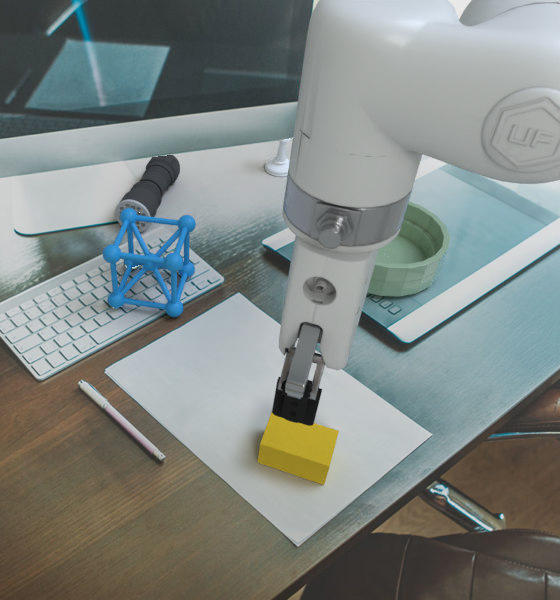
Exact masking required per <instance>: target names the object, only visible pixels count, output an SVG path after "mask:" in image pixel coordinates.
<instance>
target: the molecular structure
mask: <svg viewBox="0 0 560 600" xmlns="http://www.w3.org/2000/svg"><path fill="white" fill-rule="evenodd" d="M120 220H121V222H122V223H123V224H122V226H121V225H120V228H119V230H118V232H117V235H116V237H115V239H114V241H113V243H112V244H111V243H110V244H108V245H106V246H105V247H104V248H103V249H102V253H101V254H102V259H103V260H104V261H105V262H107V263H108V264H109V268H110V277H111V287H112V291H111V292H110V293H109V294H108V296H107V304H108V303H109V304H108V305H109V306H110V305H111V306H112V307H114V308H113V309H120V308H119V307H121V306H122V307H123V306H124V305H125V304H126V305H130V306H131V305H132V306H137V307H138V306H139V307H145V308H151V309H159V310H165V313H166V314H167V315H168V316H169V317H171V318H178V317H181V315H182V314H183V312H184V304H183V302H181V298H182V294H183V291H184V289H185V288H184V287H185V285H186V281H187V279H188V278H187V277H189V278H191V277H193V276H194V274H195V273H196V267H195V265H194V263H193V262H191V261H190V233H192V232H193V231H194V230H195V228H196V227H197V222H196V219H195V218H194V217H193V216H192V215H189V214H184V215H181V216H180V217H179V219H173V218H164V217H156V216H155V217H149V216H141V215H137V213H136V211H135V210H134V209H132V208H125V209H124V210H123V211H122V212H121V214H120ZM137 221H143V222H151V223H152V224H160V225H168V226H176V227H177V228H178V229H177V230H176V231H175V232H173V234H172V235H171V236H170V237H169V238H168V239H167V241H166V242H164V243H163V245H162V246H161V247H160V248H159V249H158V250H157V251H155V253H153V252H150V250H149V248H148V246H147V245H146V242H145V240H144V238H143V236H142V234H141V232H139V230H138V228H137V226H136V224H135V223H136V222H137ZM151 223H150V224H151ZM125 233H126V236H127V251H128V252H122V250H121V248H120V244H121V242H122V240H123V238H124V235H125ZM134 237H135V238H136V241H137V243H138V245H139V247H140V248H141V251H142V253H143V254H138V253H135V248H134V247H135V246H134ZM176 240H177V243H176V246H175V248H174V251H173V252H170V253H169V252H168V253H167V255H166V256H165V257H162V255H164V253H165V252H166V251H167V250H168V249H169V248H170V247H171V246H172V245H173V244H174V243H175V241H176ZM182 249H183V256H182V255H181V251H182ZM120 260H123V265H124V264H126V265H127V268H126V267H125V271H124V273H123V275H122V278H121V280H120V283H119V281H118V271H117V270H118V269H117V263H118V262H119V261H120ZM138 265H143V266H141V269H139V271H138V272H137V273H136V274H135V275H134V276H133V277H132V278H131V279H130V280H129V277H130V275H131V273H132V270H131V269H132V267H135V266H138ZM159 269H160V270H167V271H168V272H170V290H169V288H168V286H167V284H166V282H165V281H164V278H163V276H162V274H161V272H160V270H159ZM148 271H149V272H152V273H153V275H154V277H155V279H156V281H157V283H158V285H159V287H160V290H161V291H162V293H163V295H164V297H165V299H166V303H161V302H155V301H147V300H142V299H135V298H128V297H126V294H127V293H128V292H129V291H130V290H131V289H132V288H133V287H134V286H135V284H137V282H139V280H140V279H141V278H142V277H143V276H144V275H145V274H146V273H147V272H148ZM130 272H131V273H130ZM178 274H179V276H180V275H181V276H180V280H179V282H178ZM127 279H128V280H129V282H128V280H127ZM111 306H110V307H111ZM112 307H111V308H112ZM122 307H121V308H122Z"/></svg>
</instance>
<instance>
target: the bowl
mask: <svg viewBox="0 0 560 600" xmlns="http://www.w3.org/2000/svg"><path fill="white" fill-rule="evenodd" d="M450 243H451V236H450V233H449V230H448V228H447V226H446V224H445V223H444V222H443V221H442V220H441V219H440V218H439V216H437V214H435V213H433V212H432V211H430V210H429V209H427V208H425V207H424V206H422V205H420V204H418V203H415V202H412V201H410V200H409V202H408V206H407V209H406V212H405V215H404V219H403V222H402V225H401V229H400V232H399V234H398V235H397V237H396V238H395V239H394V240H393V241H392V242H391V243H389V244H388V245H386V246H384V247H382V248H380V249H378V254H377V258H376V262H375V266H374V270H373V273H372V277H371V281H370V284H369V288H368V291H367V294H371V295H375V296H380V297H405V296H410V295H415V294H418V293H420V292H422V291H424V290H426V289H428V288H429V287H431V286H432V285H433V284H434V282H435V281H436V280H437V279H438V277H439V276H440V273H441V270H442V267H443V264H444V262H445V260H446V256H447V254H448V251H449V249H450ZM384 254H385V255H384ZM388 256H389V257H388Z"/></svg>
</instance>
